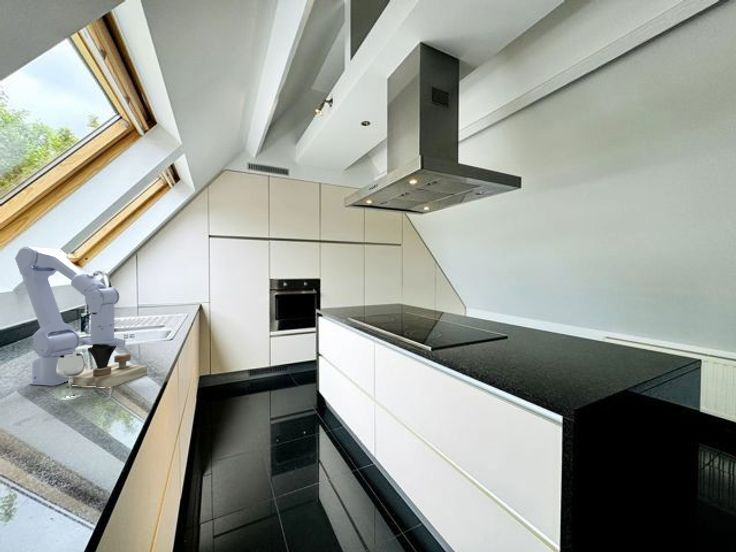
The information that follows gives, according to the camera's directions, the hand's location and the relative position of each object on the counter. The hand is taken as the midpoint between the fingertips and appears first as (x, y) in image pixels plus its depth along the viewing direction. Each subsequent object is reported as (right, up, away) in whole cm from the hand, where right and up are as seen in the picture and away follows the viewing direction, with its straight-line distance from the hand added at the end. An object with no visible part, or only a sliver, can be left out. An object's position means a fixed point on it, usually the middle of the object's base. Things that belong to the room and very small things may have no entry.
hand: (102, 367), depth 97 cm
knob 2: (+1, -3, +7) cm, 8 cm away
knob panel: (-1, -5, +4) cm, 6 cm away
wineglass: (0, -5, -11) cm, 12 cm away
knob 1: (0, -5, 0) cm, 5 cm away
